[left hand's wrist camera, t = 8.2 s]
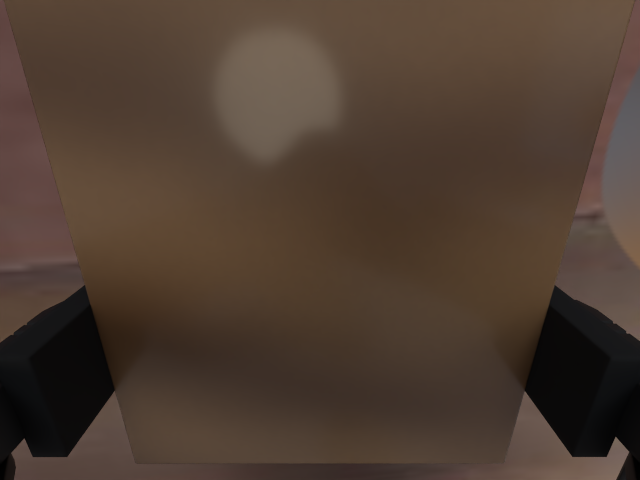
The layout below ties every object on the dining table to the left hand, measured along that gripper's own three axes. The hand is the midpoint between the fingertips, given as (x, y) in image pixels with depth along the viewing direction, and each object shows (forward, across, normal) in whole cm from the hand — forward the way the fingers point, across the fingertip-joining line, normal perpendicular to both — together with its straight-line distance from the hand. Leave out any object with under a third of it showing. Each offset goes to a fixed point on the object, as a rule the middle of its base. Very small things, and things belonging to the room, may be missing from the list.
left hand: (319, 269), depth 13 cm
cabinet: (+5, 0, -6) cm, 7 cm away
